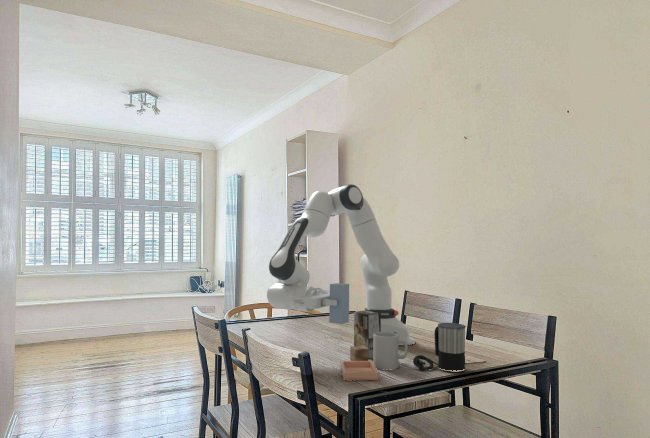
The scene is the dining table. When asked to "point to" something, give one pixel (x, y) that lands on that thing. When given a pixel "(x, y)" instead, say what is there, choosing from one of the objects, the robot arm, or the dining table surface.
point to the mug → (387, 350)
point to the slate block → (339, 303)
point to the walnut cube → (358, 353)
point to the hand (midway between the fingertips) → (341, 301)
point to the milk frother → (446, 348)
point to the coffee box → (366, 329)
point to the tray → (358, 370)
